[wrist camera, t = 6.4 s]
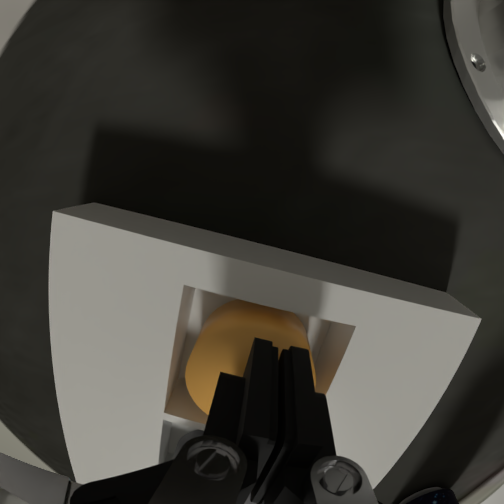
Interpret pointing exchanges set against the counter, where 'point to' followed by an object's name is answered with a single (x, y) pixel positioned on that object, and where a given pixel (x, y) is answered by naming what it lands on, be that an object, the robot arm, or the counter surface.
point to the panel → (193, 318)
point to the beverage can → (432, 497)
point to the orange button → (237, 344)
